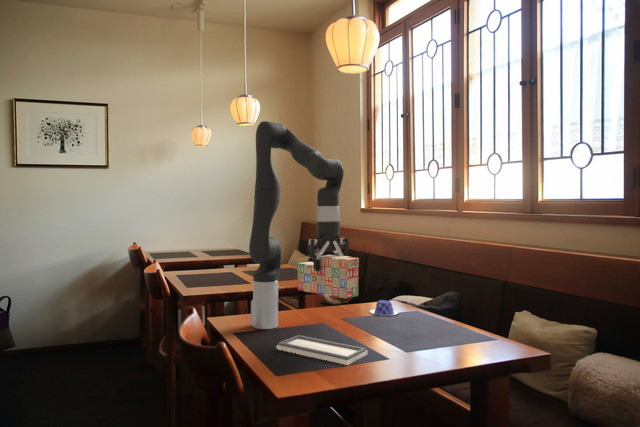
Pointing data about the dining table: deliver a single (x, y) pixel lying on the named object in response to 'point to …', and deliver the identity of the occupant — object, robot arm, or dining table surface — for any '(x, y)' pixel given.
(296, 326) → the dining table surface
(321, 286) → the stack of blocks
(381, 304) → the blue checkered hat
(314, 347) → the base board
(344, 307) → the dining table surface
